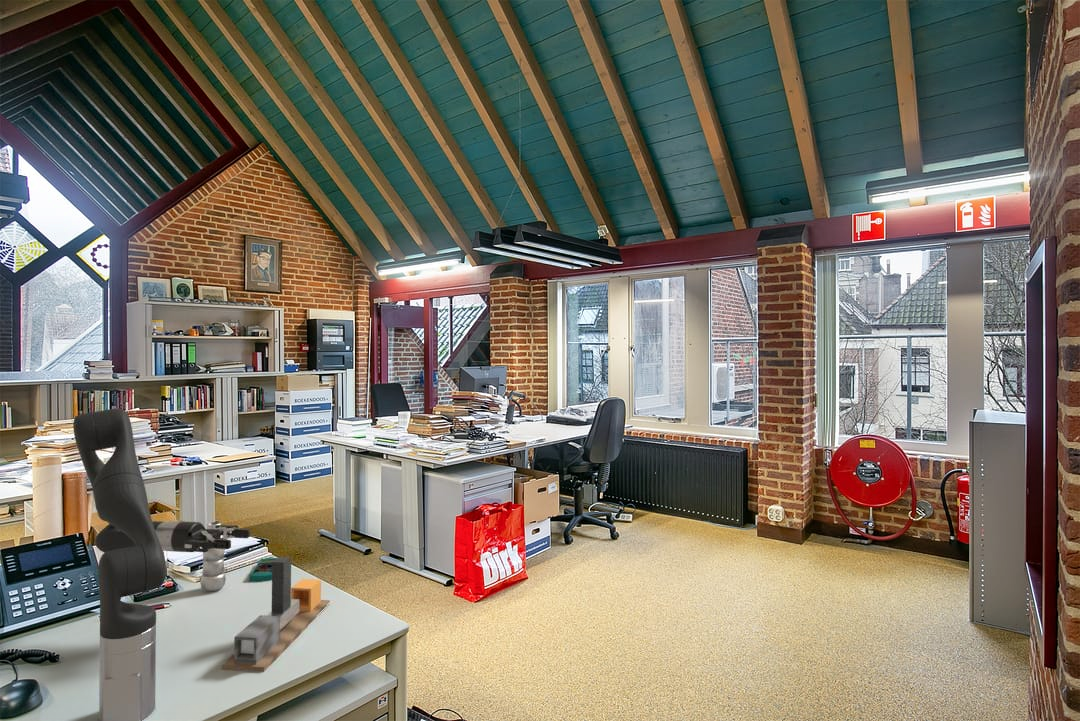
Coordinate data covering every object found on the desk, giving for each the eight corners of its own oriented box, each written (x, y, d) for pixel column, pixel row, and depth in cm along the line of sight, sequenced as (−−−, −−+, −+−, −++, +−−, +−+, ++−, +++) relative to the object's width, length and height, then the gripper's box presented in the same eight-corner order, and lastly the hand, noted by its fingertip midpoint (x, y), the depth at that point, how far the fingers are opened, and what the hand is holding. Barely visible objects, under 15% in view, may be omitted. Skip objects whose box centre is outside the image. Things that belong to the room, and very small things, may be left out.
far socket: (310, 611, 163) (311, 588, 163) (290, 610, 164) (291, 587, 164) (320, 601, 170) (321, 579, 170) (301, 600, 170) (302, 578, 170)
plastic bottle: (201, 587, 180) (201, 521, 180) (226, 584, 183) (227, 519, 183) (199, 595, 174) (199, 527, 174) (225, 592, 177) (226, 525, 177)
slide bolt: (254, 654, 137) (255, 583, 137) (240, 653, 137) (241, 582, 137) (299, 612, 159) (300, 551, 159) (286, 611, 159) (287, 550, 159)
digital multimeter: (248, 583, 185) (248, 574, 185) (259, 566, 199) (259, 557, 199) (273, 582, 187) (273, 572, 187) (282, 565, 201) (282, 556, 201)
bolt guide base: (263, 671, 135) (264, 640, 135) (221, 669, 136) (221, 638, 135) (329, 603, 171) (330, 579, 171) (295, 602, 171) (296, 577, 171)
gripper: (160, 530, 147) (223, 533, 146) (197, 514, 161) (255, 516, 160) (160, 560, 147) (223, 563, 146) (196, 541, 161) (254, 544, 160)
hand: (240, 539), depth 153 cm, fingers open, 8 cm apart
